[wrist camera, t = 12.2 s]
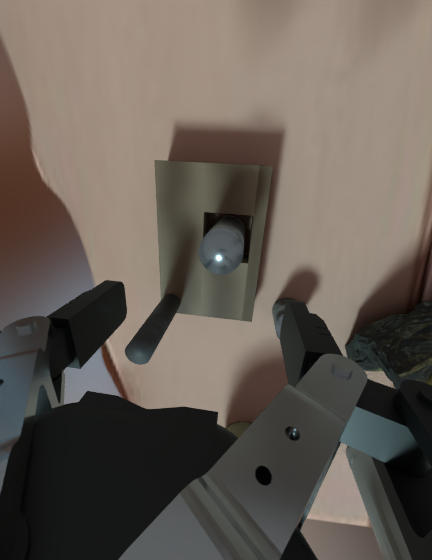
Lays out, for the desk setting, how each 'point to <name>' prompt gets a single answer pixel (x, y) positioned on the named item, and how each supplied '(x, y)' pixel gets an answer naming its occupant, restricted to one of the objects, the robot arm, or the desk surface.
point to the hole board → (187, 237)
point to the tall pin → (223, 246)
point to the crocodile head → (397, 346)
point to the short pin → (279, 313)
